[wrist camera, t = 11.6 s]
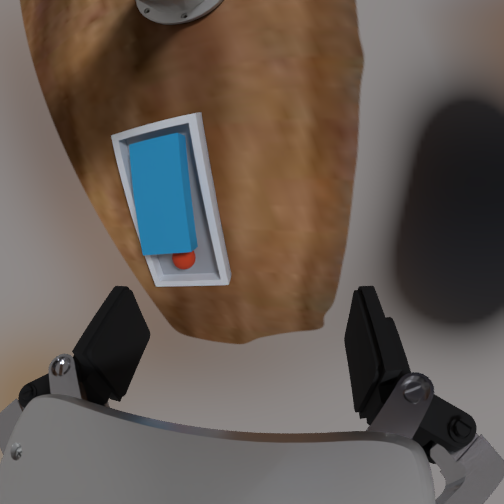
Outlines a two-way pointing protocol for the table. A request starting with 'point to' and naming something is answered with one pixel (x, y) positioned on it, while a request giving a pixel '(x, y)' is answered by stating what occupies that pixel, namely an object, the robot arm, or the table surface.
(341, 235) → the table surface
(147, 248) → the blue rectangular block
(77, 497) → the robot arm
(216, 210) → the tray
